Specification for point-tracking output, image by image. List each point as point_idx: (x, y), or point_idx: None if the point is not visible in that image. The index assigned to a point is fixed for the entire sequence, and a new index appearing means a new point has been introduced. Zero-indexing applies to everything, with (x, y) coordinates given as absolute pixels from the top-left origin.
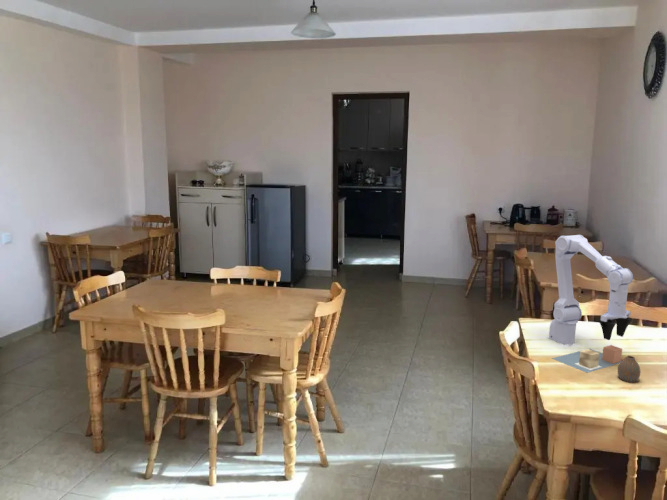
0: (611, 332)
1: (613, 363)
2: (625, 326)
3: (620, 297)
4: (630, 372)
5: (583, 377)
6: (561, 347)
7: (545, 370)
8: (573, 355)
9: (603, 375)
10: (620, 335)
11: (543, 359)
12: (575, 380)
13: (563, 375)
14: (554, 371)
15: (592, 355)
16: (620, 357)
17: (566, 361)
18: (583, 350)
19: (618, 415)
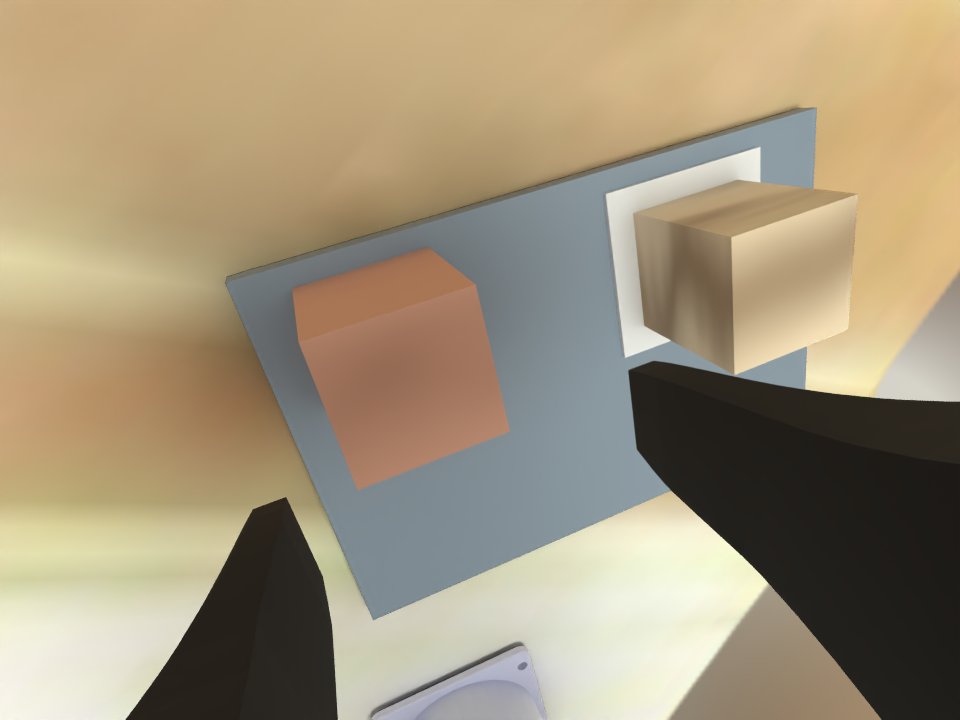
0: (752, 403)
1: (425, 248)
2: (249, 669)
3: None
4: None
5: (858, 69)
6: (547, 647)
7: (951, 267)
8: (623, 476)
9: (686, 50)
10: (297, 532)
11: None
12: (950, 34)
13: (936, 154)
14: (923, 238)
15: (832, 200)
16: (312, 297)
17: (765, 366)
18: (808, 342)
19: None
